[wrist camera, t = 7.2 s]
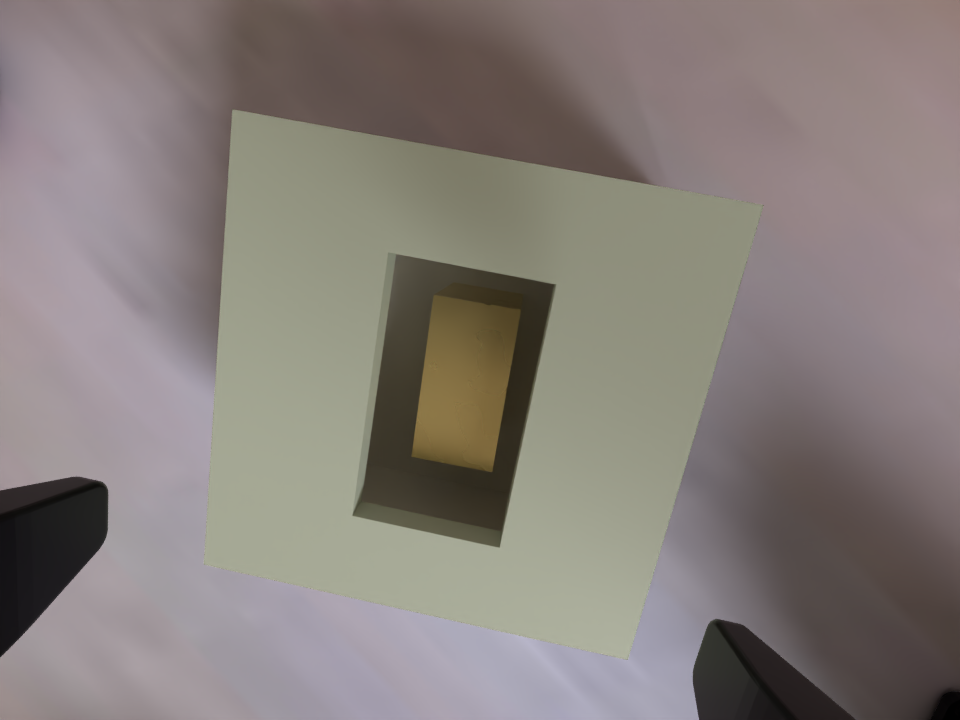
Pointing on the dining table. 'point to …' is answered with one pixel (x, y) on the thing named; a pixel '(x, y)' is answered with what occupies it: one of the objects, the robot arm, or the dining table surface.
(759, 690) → the robot arm
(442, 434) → the wooden block
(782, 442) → the dining table surface
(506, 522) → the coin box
